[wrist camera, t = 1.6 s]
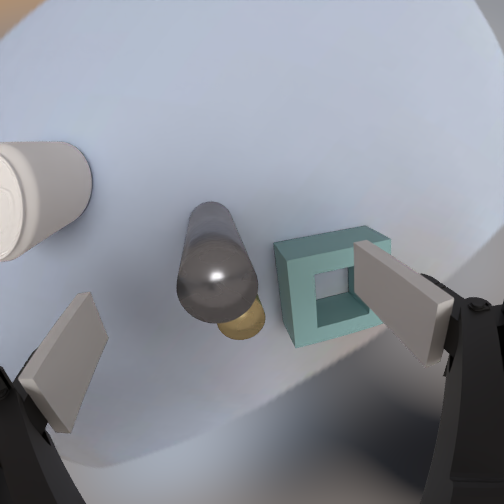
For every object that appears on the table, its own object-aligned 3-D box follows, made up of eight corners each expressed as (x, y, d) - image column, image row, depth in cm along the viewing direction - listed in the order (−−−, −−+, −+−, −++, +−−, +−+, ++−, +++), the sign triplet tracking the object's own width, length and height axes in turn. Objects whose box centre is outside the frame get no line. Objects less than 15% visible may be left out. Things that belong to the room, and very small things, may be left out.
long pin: (193, 247, 28) (187, 329, 15) (185, 206, 27) (167, 258, 14) (235, 239, 29) (263, 315, 16) (228, 198, 28) (251, 242, 14)
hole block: (283, 321, 33) (295, 348, 28) (273, 242, 29) (286, 260, 25) (365, 300, 33) (387, 322, 29) (365, 225, 30) (391, 239, 26)
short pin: (218, 309, 31) (222, 343, 25) (210, 274, 30) (212, 303, 24) (256, 302, 31) (268, 334, 26) (250, 266, 30) (261, 294, 24)
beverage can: (80, 236, 26) (19, 287, 15) (19, 208, 24) (-55, 243, 13) (106, 156, 24) (43, 163, 13) (40, 132, 22) (-39, 131, 11)
